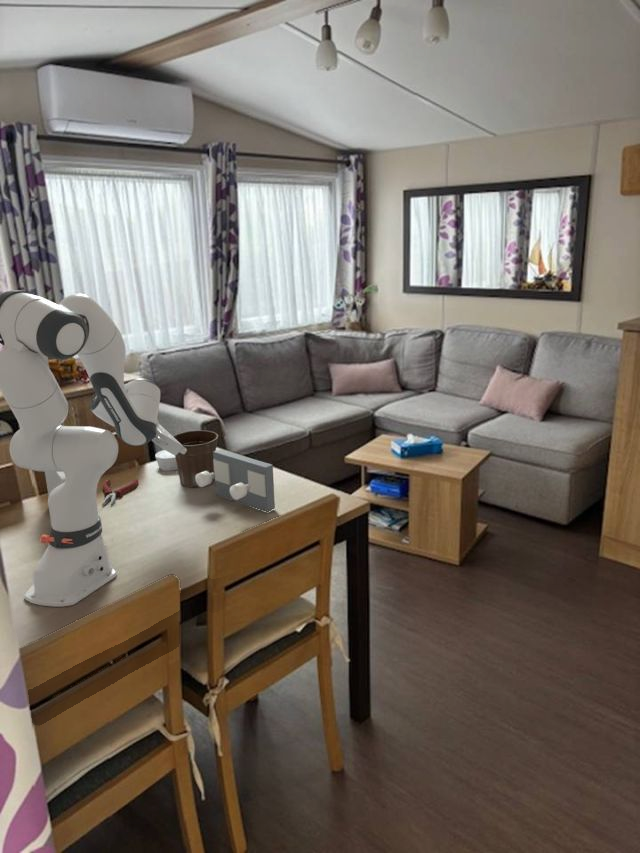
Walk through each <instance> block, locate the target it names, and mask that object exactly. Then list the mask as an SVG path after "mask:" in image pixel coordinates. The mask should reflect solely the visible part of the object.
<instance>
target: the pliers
mask: <svg viewBox="0 0 640 853" xmlns="http://www.w3.org/2000/svg"><path fill="white" fill-rule="evenodd" d="M110 485H111V480H110V479H106V480H105V481H104V482H103V484H102V490H103V491H104V493H103V496H104V499H103V502H102V504H101V507H103V506H105V505H107V504H108V503H109V502H110V506H112V505H113V504H114V503H115V502H116V501H117V498H120V499H121V498H123V495H125V494H127V493H129V492H132V491H133V490H135V489H136V488H137V487H138V486H139V480H138V478H134V479H133V480H132V482H131V483H129V484H126V485H124V486H123V487H120V488H118V489H116V490H114V491H113V490H111V488H110V487H109V486H110Z"/></svg>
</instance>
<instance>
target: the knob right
mask: <svg viewBox="0 0 640 853" xmlns="http://www.w3.org/2000/svg"><path fill="white" fill-rule="evenodd" d="M249 490H250V485H249V484H246V485H244V484H243V483H241V482H240V483H237V484H235V485H233V486H231V487H230V494H231V496H232V498H233V499H235V500H238V499H240V498H242V497H245V496H246V495H247V491H249Z"/></svg>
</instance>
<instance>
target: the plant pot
mask: <svg viewBox="0 0 640 853" xmlns="http://www.w3.org/2000/svg"><path fill="white" fill-rule="evenodd" d="M172 436H173V437H174V438H175V439H176V440H177V441H178V442H179V443H181V444H182V446H183V447H185V448H186V449H187V451H186V453H185V454H182V453H180V452H179V453H178V454H177V455H175V458H176V462H177V467H178V469H177V471H178V472H177V473H178V476H179V482H180V484H181V485H182V486H184V487H187V488H194V487H197V488H201V487H200V486H198V485H197V483H196V480H195V476H196V474H198V473H201V472H204V471H208V472H209V473H212V472H213V473H214V463H213V460H214V456H213V452H214V451H217V448H218V446H217V445H218V444H217V443H218V439H219V434H218V433H217V432H214V431H210V430H202V429H201V430H200V429H198V430H189V431H183V432H179V433H176V434H173V435H172ZM213 483H215V478H214V479H212V482H211V484H213ZM206 486H208V485H206ZM206 486H205V487H206Z"/></svg>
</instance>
